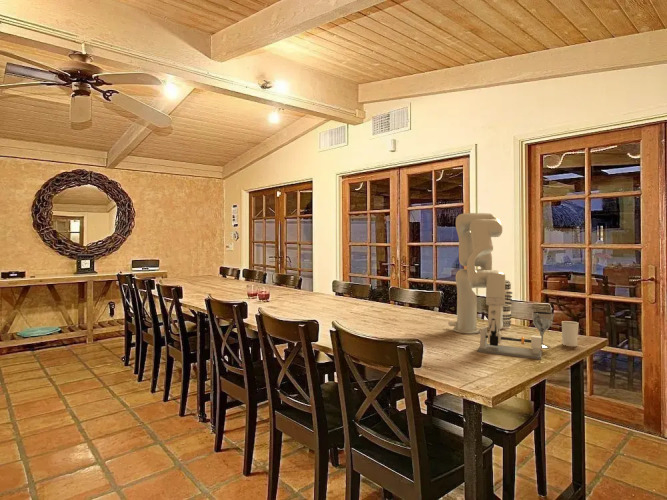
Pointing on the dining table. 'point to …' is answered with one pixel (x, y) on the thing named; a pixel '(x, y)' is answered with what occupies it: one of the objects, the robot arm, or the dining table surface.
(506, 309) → the decorative candle
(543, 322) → the wine glass
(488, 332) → the sleeve
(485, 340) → the board
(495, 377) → the dining table surface
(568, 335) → the beige cup
